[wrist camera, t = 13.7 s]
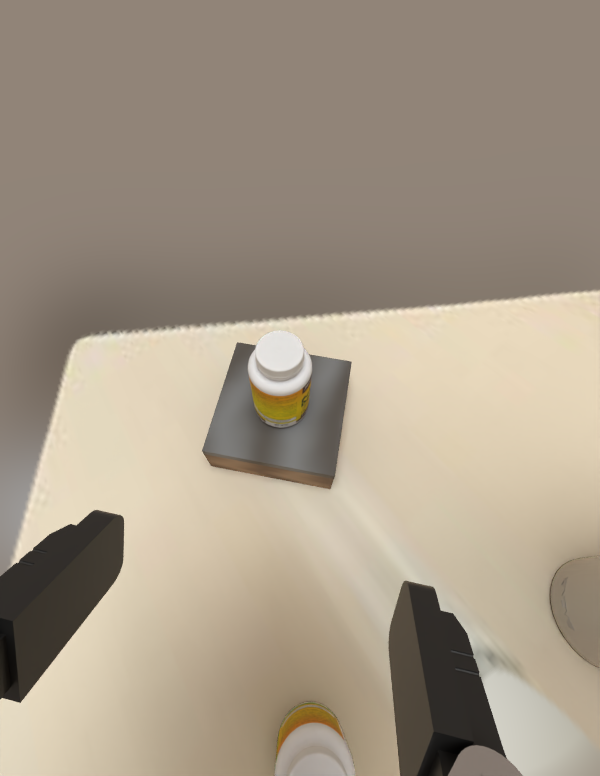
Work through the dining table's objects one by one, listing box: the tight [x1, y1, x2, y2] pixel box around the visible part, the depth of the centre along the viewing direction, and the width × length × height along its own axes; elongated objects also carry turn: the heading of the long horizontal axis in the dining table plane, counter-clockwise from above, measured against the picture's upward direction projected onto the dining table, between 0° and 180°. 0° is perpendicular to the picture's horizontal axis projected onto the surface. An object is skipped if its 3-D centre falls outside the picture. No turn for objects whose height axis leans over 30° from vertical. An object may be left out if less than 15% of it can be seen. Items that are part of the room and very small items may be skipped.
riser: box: [202, 342, 351, 489], centre depth 42 cm, size 13×13×5 cm
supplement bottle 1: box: [248, 331, 312, 428], centre depth 35 cm, size 6×6×10 cm
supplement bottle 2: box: [275, 702, 356, 776], centre depth 27 cm, size 5×5×10 cm
